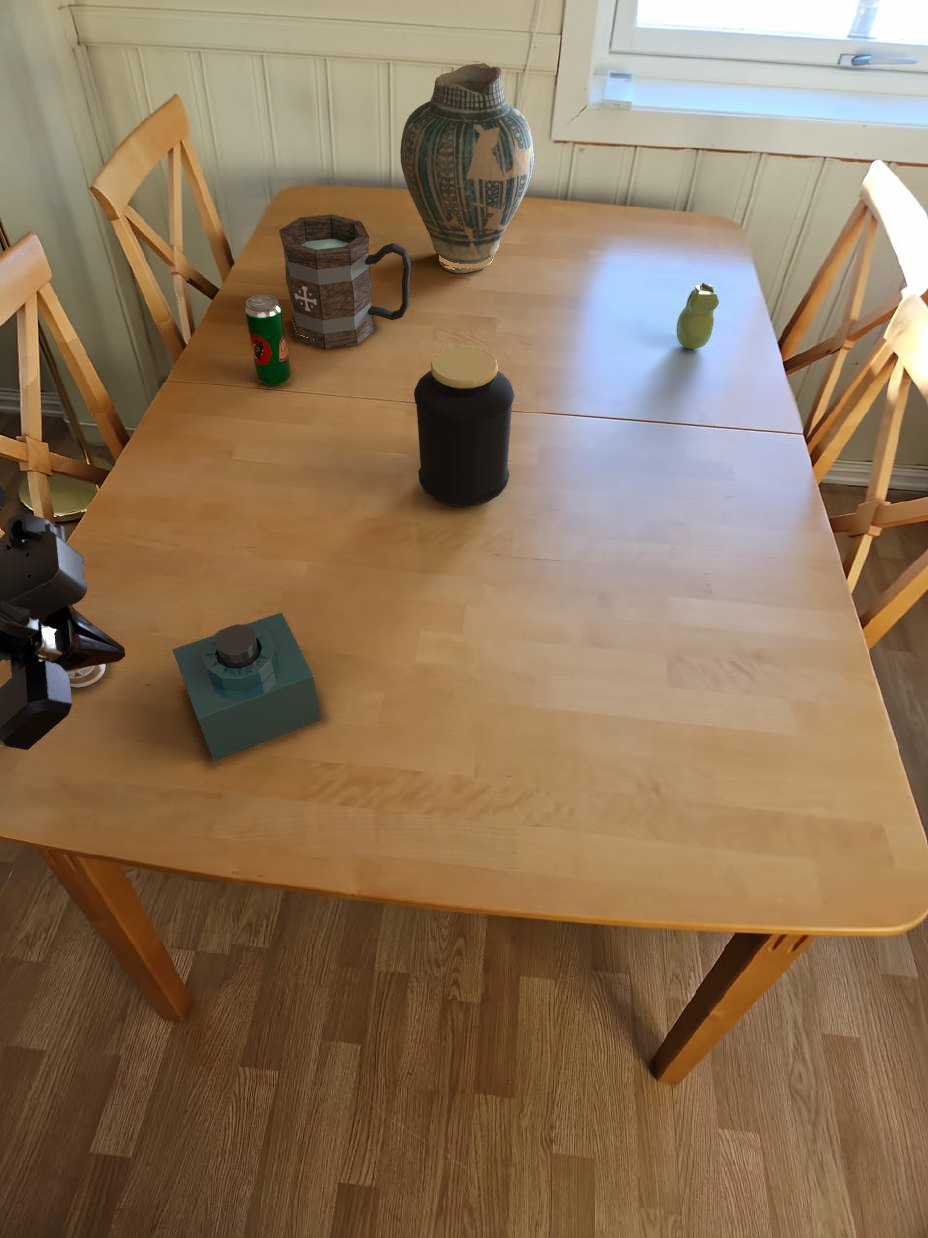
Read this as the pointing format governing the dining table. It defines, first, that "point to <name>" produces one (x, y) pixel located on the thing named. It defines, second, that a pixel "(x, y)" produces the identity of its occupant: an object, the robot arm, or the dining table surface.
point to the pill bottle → (85, 675)
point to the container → (464, 427)
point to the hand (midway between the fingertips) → (122, 654)
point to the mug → (334, 280)
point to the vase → (467, 163)
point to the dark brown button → (237, 646)
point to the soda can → (268, 339)
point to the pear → (697, 317)
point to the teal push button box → (249, 689)
